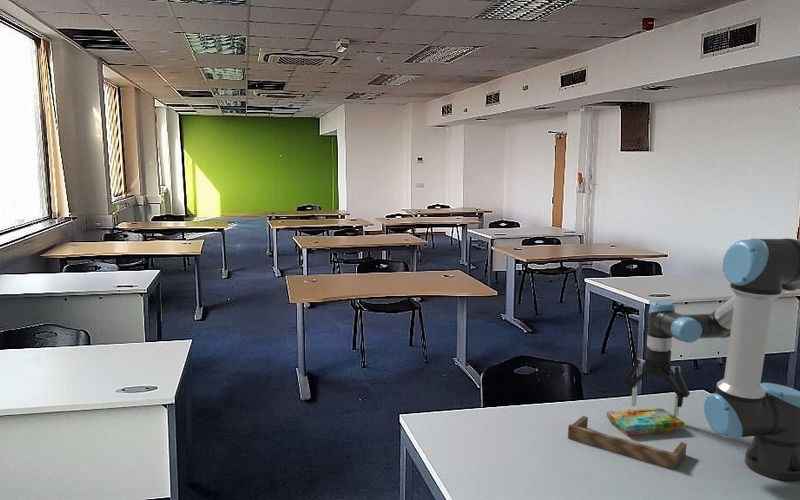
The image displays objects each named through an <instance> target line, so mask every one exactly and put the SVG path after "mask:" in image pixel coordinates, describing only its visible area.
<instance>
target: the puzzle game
mask: <svg viewBox="0 0 800 500" xmlns="http://www.w3.org/2000/svg"><path fill="white" fill-rule="evenodd" d="M606 418H607V419H608V420H609V422H610V424H611V425H612V426H614V427H615V428H616V429H618V430H619V432H620V431H621V433H623V434H624V435H626V436H627V437H629V436H630V437H631V436H639V435H641V436H642V435H652V434H653V435H654V434H666V433H671V432H672V431H674V429H676V428H683V427H685V423H686V422H685V421H684V420H682V419H680V418H678V416H677V417H675V416H674V414H672V413H670V412H669V411H667V410H665V409H664V408H663V407H660V408H659V407H658V408H644V409H642V408H641V409H627V410H626V409H625V410H624V409H623V410H611V411H607V412H606Z"/></svg>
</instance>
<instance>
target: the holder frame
mask: <svg viewBox="0 0 800 500" xmlns="http://www.w3.org/2000/svg"><path fill="white" fill-rule="evenodd" d="M588 421H589V417H588V416H585V415H583V416H581V417H580V418H578V419H577V420H576V421H575V422H573V423H572V424H571V423H570V424H569V425H568V427H567V428H568V431H567V439H569V440H572V441H576V442H579V443H583V444H586V445H589V446H593V447H596V448H598V449H599V448H600V449H604V450H607V451H611V452H613V453H617V454H620V455H623V456H628V457H630V458H633V459H637V460H640V461H644V462H646V463H651V464H654V465H658V466H660V467H663V468H666V469H671V470H674V471H675V470H676V469H677V468H678V466H679V464H680V463H681V462H682V460H683V459H684V458H685V457H686V456H687V444H688V443H686V442H683V441H682V442H680V443H679V444H678V445H677V446H676V448H675V449H674V450H673V451H672V452H671V451H668V450H664V449H660V448H657V447H653V446H649V445H646V444H642V443H638V442H634V441H631V440H629V439H624V438H621V437H617V436H614V435H610V434H607V433H603V432H601V431H596V430H592V429H589V428H588Z"/></svg>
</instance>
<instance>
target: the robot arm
mask: <svg viewBox="0 0 800 500" xmlns="http://www.w3.org/2000/svg"><path fill="white" fill-rule="evenodd" d="M722 272H723V273H724V274H723V276H724V278H725V279H726V280H727V282H729V283H730V286H729V288H730V290H732V291H733V293H734V295H733V296H731V297H730V298H729V299H728V300H727V301H725V302H724V303H723V304H721V305H720V306H719V307H718V308H716V309H715V310H714V311H712V312H711V313H701V314H699V313H698V314H697V313H696V314H694V313H693V314H681V313H678V312H676V308H675V304H674V303H673V302H671V301H667V300H653V301H651V302H650V304H649V310H648V318H647V319H648V320H647V337H646V350H645V351H646V353H645V360H644V359H642V358H641V357H638V358H637V359H635V361H634V362H635V363H634V366H633V367H632V368H631V370H630V372H629V373H628V375H627V377H626V378H625V379H624V381H623V382H624V384H626V385H628V386H629V390H628V391H629V393H628V394H629V396H631V407H635V406H636V405H637V399H638V385H636V384H637V383H639V382H640V381H641V380H642V379H644V378H645V377H646V376H647V375H651V376H652V377H657V378H663V379H664V380H666V382H667V383H668V385H669V386H670V388H671V389H672V391H673V392H674V393H675V395H676V396H675V397H674V408H673V409H674V410H673V416H675V417H677V418H678V416H679V411H680V408H682V407H683V403H684V398H688V397H689V396H690V395H691V394H690V391H689V388H688V386H687V383H686V382H685V378H684V376H683V374H682V366H680V365H677V366H675V365H672V363H671V359H672V349H673V348H672V346H673V345H672V344H673V338H674V339H675V340H677V341H680V342H684V343H688V344H689V343H690V344H691V343H694V342H696V341H698V340H700V339H726V338H729V339H728V345H727V346H728V347H727V352H726V353H727V354H726V362H725V369H724V376H723V378H722V379H720V380H719V381H717V382H716V388H715V393H710V394H708V396H706V397H705V399H704V400H703V411H704V416H705V418H706V421H707V423H708V425H709V427H710V429H712V430H713V432H715V433H716V434H717V435H718V436H720V437H722V438H726V439H727V438H728V439H730V438H732V439H733V438H734V439H740V438H747V437H752V440H751V442H750V443H749V445H748V447H747V448H746V451H745V454H744V464H745V465H746V466H747V468H749V469H751V470H752V471H753V472H756V473H757V472H758V473H757V474H760V475H762V476H765V477H768V478H771V479H776V480H780V479H781V480H780V481H787V480H798V481H800V391H799V390H797V389H795V388H792V387H790V386H786V385H781V384H778V383H774V382H773V383H771V382H762V374H763V369H764V362H765V355H766V349H767V342H768V335H769V329H770V323H771V314H772V310H773V302H774V301H775V300H777V299H778V298H779V297H781V296H782V295H784V294H785V293H786V292H795V291H796V290H798V289H800V240H798V239H795V238H754V237H753V238H748V239H742V240H738V241H737V240H736V242H734V243H733V244H731V245H730V246H729V247H728V248H727V250H726V251H725V253H724V256H723V258H722ZM643 365H644V367H645V368H646V370H644V371H643V372H642V373H641V374H639V375H638V377H636V378H635V379H634V380H633V381H632V379H633V377H634V376H635V375H636V373H637V372H638V370H639V368H640V367H641V366H643ZM670 371H672V372H673V373H674V375H675V378H676V380H674V378H673V376H672V374H671V372H670ZM676 381H677V382H676ZM677 383H678V384H677Z"/></svg>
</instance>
